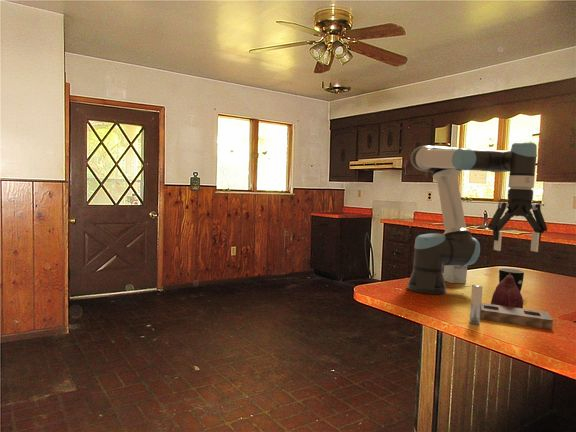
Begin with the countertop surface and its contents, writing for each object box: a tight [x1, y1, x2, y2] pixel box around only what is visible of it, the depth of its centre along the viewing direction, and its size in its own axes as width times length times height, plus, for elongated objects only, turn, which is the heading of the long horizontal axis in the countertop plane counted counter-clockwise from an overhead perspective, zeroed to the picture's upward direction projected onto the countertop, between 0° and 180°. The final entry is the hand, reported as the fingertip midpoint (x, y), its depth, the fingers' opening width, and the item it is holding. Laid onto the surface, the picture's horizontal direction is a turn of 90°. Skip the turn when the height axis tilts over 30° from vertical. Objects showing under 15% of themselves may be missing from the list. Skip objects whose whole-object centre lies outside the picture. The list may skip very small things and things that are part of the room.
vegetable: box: [490, 273, 524, 309], centre depth 149 cm, size 10×10×15 cm
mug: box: [498, 267, 525, 292], centre depth 174 cm, size 12×9×10 cm
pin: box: [469, 284, 484, 326], centre depth 132 cm, size 3×3×12 cm
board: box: [480, 302, 554, 331], centre depth 138 cm, size 22×10×3 cm, turn 67°
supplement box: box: [443, 265, 468, 284], centre depth 193 cm, size 7×7×13 cm
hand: (515, 250), depth 144 cm, fingers open, 13 cm apart
